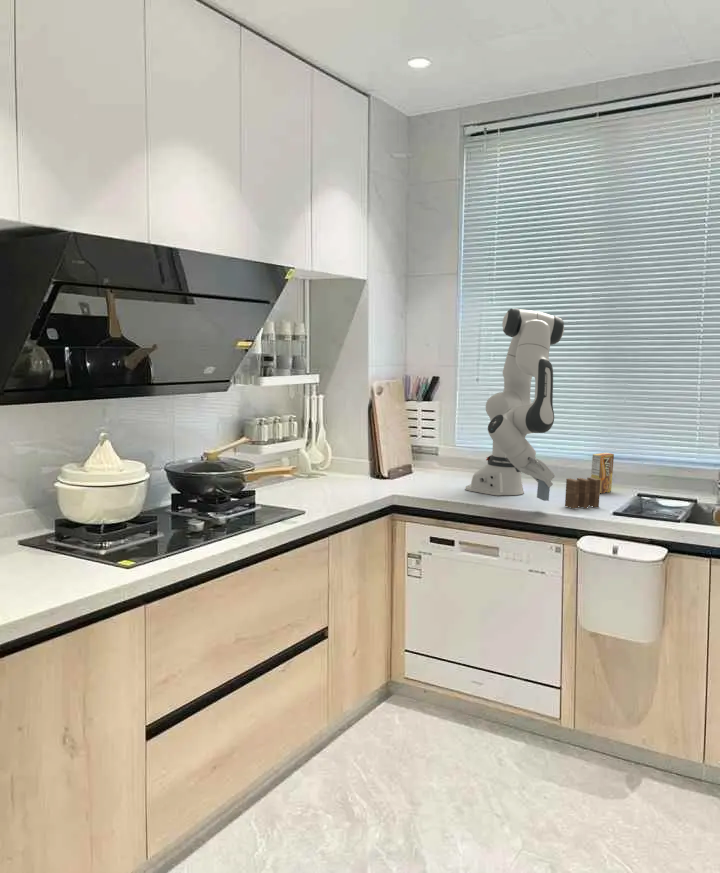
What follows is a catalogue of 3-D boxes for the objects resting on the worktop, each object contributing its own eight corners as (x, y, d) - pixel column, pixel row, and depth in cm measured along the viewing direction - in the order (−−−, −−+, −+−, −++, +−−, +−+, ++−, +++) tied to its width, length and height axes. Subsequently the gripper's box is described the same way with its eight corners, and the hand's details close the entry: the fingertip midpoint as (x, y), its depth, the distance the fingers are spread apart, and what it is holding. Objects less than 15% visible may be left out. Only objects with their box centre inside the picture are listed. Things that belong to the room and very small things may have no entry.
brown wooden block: (594, 507, 280) (596, 480, 279) (585, 504, 285) (587, 477, 284) (598, 507, 281) (600, 479, 280) (589, 504, 285) (591, 477, 284)
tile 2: (573, 509, 277) (575, 481, 276) (564, 506, 281) (566, 478, 280) (577, 508, 278) (579, 480, 276) (569, 506, 282) (570, 478, 281)
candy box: (602, 490, 315) (605, 452, 313) (612, 492, 312) (614, 453, 310) (589, 492, 309) (591, 453, 307) (598, 494, 306) (601, 455, 304)
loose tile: (543, 500, 269) (546, 471, 268) (536, 497, 274) (539, 469, 273) (548, 500, 270) (551, 471, 269) (541, 497, 275) (543, 469, 273)
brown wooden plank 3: (584, 508, 279) (585, 480, 277) (575, 505, 283) (576, 478, 282) (588, 508, 279) (590, 480, 278) (579, 505, 284) (581, 477, 283)
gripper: (543, 454, 258) (567, 483, 262) (515, 444, 277) (537, 471, 281) (530, 467, 257) (554, 496, 261) (502, 456, 277) (525, 483, 281)
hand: (545, 483), depth 272 cm, fingers closed on loose tile, 5 cm apart
